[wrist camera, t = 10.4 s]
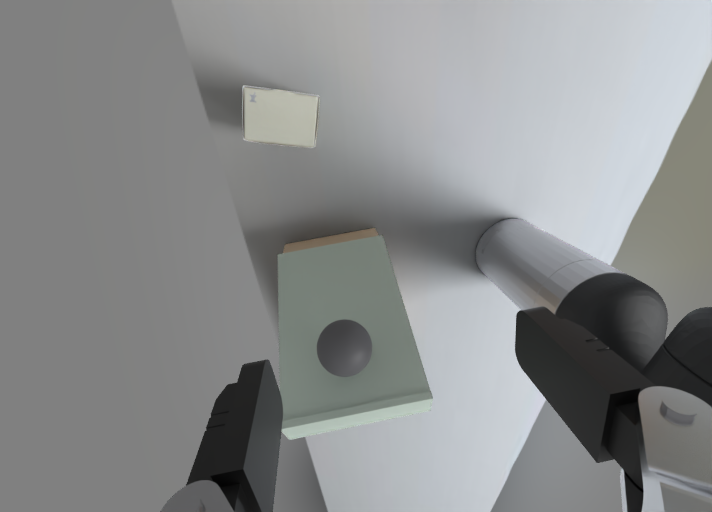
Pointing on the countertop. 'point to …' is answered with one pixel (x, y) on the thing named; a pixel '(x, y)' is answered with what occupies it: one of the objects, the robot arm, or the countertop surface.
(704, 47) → the countertop surface
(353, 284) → the lid
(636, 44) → the countertop surface
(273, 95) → the skincare box
